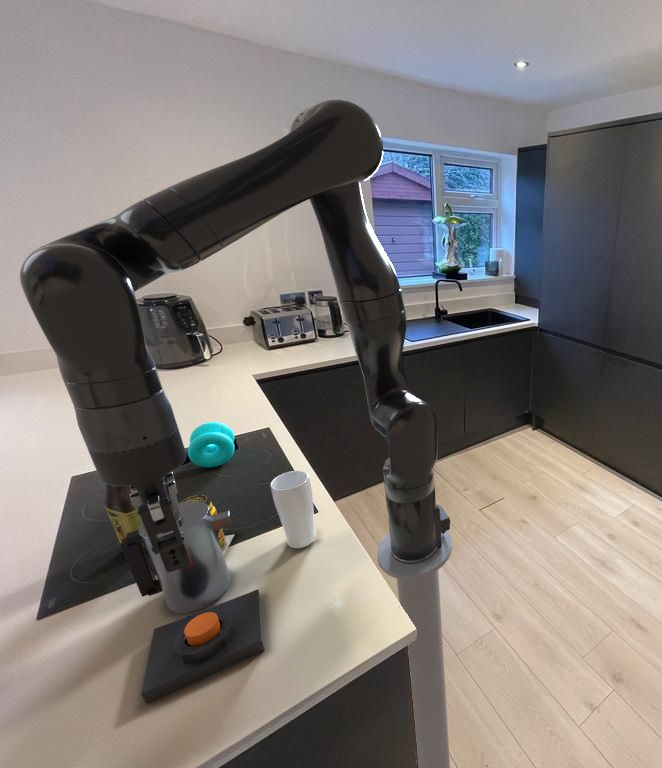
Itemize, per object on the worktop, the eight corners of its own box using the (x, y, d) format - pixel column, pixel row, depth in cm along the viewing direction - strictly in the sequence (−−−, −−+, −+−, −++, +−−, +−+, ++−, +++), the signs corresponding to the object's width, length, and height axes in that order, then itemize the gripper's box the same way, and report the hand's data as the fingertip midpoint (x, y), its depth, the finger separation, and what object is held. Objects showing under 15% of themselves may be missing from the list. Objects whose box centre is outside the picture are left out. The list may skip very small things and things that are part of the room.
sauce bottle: (125, 543, 81) (90, 459, 74) (165, 529, 85) (135, 448, 78) (123, 562, 76) (86, 475, 69) (165, 547, 80) (134, 463, 73)
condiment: (220, 561, 77) (204, 511, 73) (169, 568, 75) (149, 517, 71) (235, 535, 84) (221, 487, 80) (188, 541, 82) (172, 493, 78)
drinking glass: (327, 535, 84) (316, 475, 79) (299, 557, 79) (286, 494, 73) (305, 525, 87) (293, 466, 82) (276, 545, 81) (261, 484, 76)
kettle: (246, 558, 78) (225, 485, 72) (247, 591, 71) (224, 513, 65) (153, 590, 71) (121, 511, 65) (144, 630, 64) (107, 546, 58)
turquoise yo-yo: (193, 474, 104) (182, 440, 100) (195, 456, 112) (185, 425, 108) (238, 463, 109) (229, 431, 106) (237, 447, 117) (229, 416, 113)
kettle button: (221, 617, 62) (217, 607, 62) (220, 637, 59) (216, 627, 59) (189, 629, 60) (185, 620, 60) (186, 651, 57) (182, 641, 57)
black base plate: (261, 598, 70) (256, 581, 68) (264, 650, 61) (259, 632, 60) (158, 638, 63) (150, 620, 61) (146, 704, 54) (136, 685, 53)
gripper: (184, 446, 42) (221, 564, 48) (170, 404, 51) (203, 506, 57) (82, 473, 37) (137, 601, 43) (88, 420, 47) (133, 531, 52)
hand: (175, 546), depth 50 cm, fingers open, 8 cm apart
